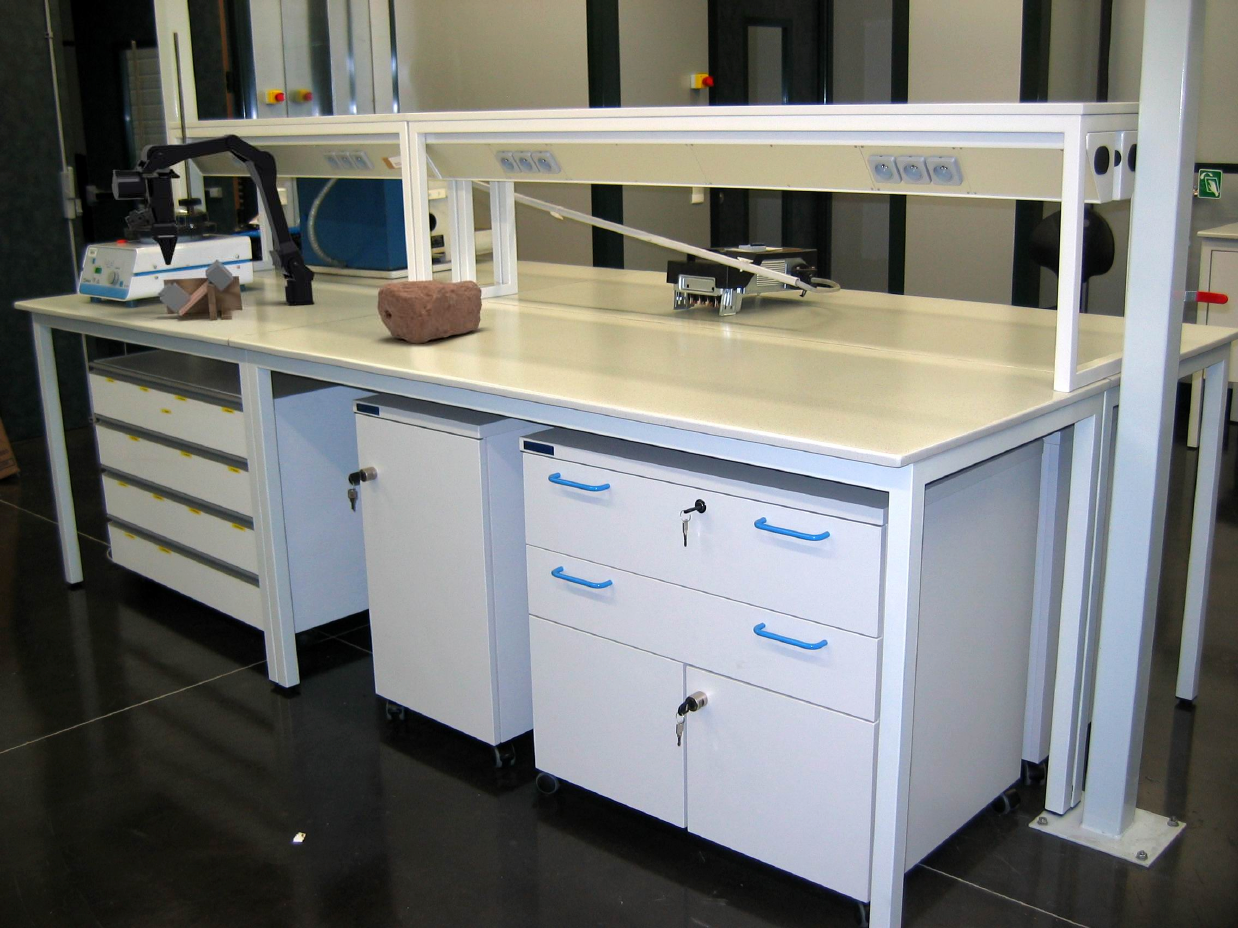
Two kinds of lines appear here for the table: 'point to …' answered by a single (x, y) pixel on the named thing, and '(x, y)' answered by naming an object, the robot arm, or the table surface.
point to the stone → (429, 309)
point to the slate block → (174, 297)
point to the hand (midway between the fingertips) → (168, 263)
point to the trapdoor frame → (211, 297)
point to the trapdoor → (210, 283)
